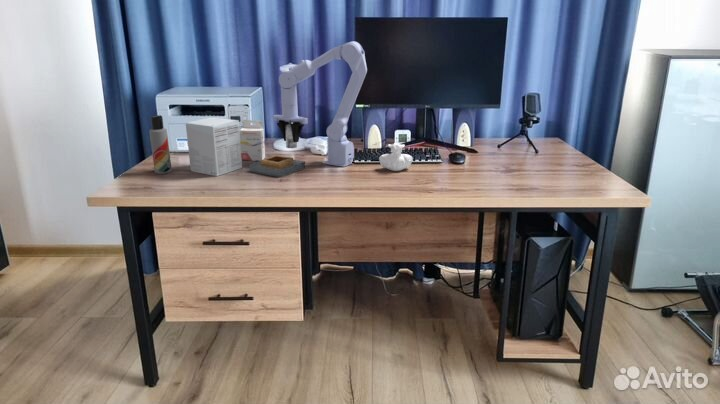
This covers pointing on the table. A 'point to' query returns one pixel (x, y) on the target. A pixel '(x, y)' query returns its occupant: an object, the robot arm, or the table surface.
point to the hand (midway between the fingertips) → (291, 141)
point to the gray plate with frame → (277, 166)
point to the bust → (395, 158)
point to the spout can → (289, 136)
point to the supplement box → (214, 146)
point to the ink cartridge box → (252, 140)
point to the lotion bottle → (160, 146)
